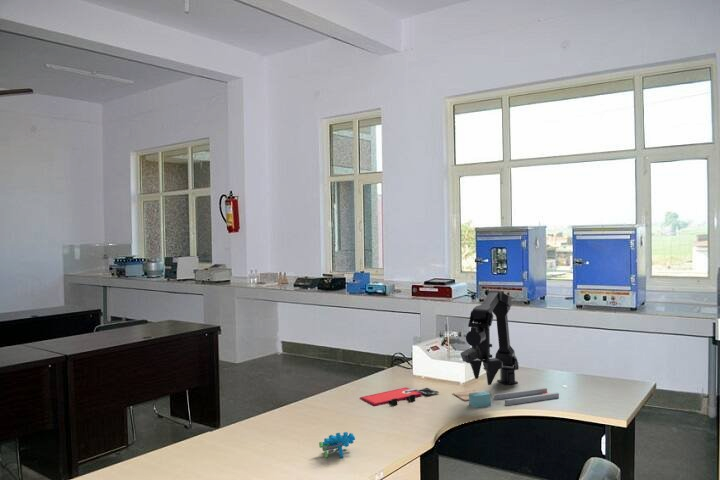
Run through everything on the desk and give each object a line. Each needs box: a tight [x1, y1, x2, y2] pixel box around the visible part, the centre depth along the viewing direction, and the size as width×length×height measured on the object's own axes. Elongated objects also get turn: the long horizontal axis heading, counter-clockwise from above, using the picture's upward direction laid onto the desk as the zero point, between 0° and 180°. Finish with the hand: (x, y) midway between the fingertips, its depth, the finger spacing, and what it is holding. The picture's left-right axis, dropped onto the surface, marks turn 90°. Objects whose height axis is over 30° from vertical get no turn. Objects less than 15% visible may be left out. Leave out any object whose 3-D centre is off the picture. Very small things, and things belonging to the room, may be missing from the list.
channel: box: [493, 387, 560, 406], centre depth 215 cm, size 8×24×2 cm, turn 109°
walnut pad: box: [452, 389, 478, 402], centre depth 220 cm, size 10×10×1 cm
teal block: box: [468, 391, 492, 409], centre depth 209 cm, size 4×7×4 cm, turn 108°
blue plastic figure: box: [318, 431, 356, 459], centre depth 165 cm, size 11×6×10 cm
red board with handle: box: [359, 387, 440, 407], centre depth 221 cm, size 30×3×15 cm
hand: (482, 381), depth 209 cm, fingers open, 9 cm apart
